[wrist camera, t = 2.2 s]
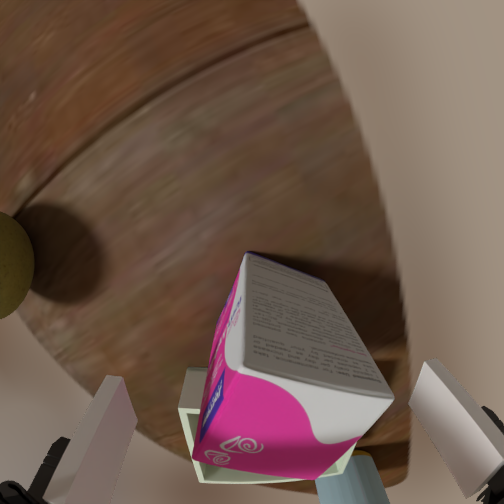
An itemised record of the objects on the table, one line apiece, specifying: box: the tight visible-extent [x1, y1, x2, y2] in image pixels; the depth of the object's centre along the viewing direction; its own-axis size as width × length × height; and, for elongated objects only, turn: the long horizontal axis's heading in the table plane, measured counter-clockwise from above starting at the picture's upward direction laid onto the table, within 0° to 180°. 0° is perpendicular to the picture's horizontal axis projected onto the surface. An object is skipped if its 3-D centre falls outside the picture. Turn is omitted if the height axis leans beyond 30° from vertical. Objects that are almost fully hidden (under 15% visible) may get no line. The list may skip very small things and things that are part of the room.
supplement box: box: [192, 251, 394, 480], centre depth 14 cm, size 6×6×11 cm
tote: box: [178, 367, 356, 484], centre depth 20 cm, size 11×13×4 cm
